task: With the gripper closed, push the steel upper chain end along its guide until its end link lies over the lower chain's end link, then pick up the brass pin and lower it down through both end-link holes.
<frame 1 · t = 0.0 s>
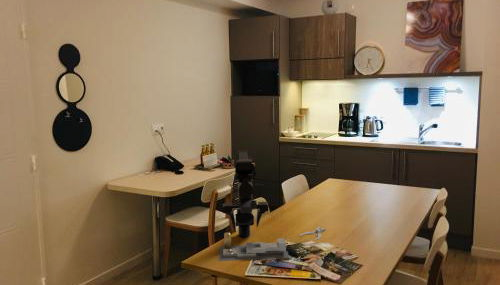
hand: (246, 227, 170), 15 cm above the table, tool pointing down, fingers open, 9 cm apart
gray rectangular board: (246, 255, 178), on the table
brass pin: (228, 248, 184), point 1 cm above the table, touching gray rectangular board
upper chain end: (265, 245, 178), point 4 cm above the table, slide at 4.0 cm
lower chain end: (253, 251, 178), on the gray rectangular board, point 1 cm above the table
pliers: (315, 234, 202), on the table
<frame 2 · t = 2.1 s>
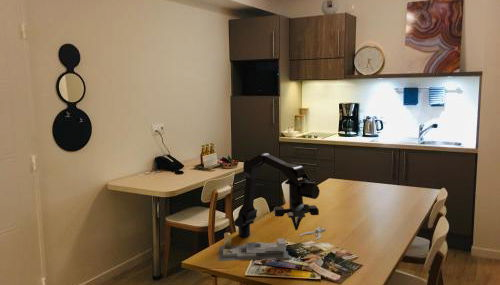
hand: (296, 230, 177), 11 cm above the table, tool pointing down, fingers closed
nothing on the table moved.
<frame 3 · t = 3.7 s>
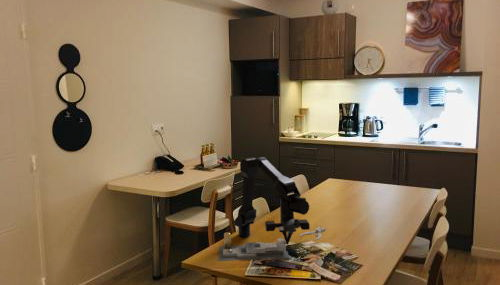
hand: (287, 244, 178), 4 cm above the table, tool pointing down, fingers closed
upper chain end: (265, 245, 177), point 4 cm above the table, slide at 3.9 cm, touching gripper
everything else where it was.
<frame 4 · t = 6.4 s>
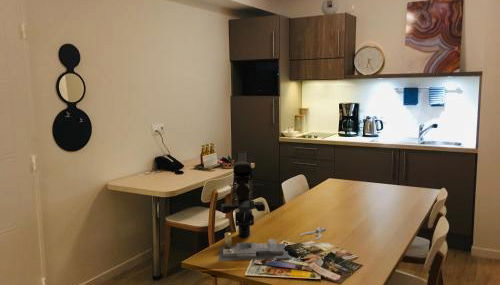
hand: (243, 226, 181), 12 cm above the table, tool pointing down, fingers closed
upper chain end: (256, 245, 177), point 4 cm above the table, slide at 0.0 cm
everything else where it was.
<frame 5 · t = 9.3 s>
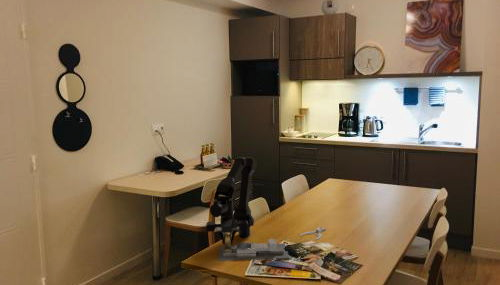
hand: (227, 244, 184), 3 cm above the table, tool pointing down, fingers closed on brass pin, 3 cm apart
brass pin: (228, 248, 184), point 1 cm above the table, touching gripper, gray rectangular board
everything else where it was.
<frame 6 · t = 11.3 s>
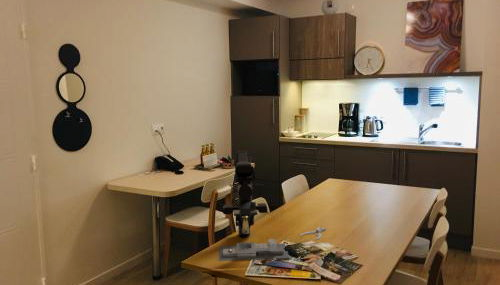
hand: (245, 228, 176), 12 cm above the table, tool pointing down, fingers closed on brass pin, 3 cm apart
brass pin: (245, 232, 176), point 10 cm above the table, touching gripper
everything else where it was.
when the fingers open (5 cm above the table, at t = 13.7 s): brass pin drops 2 cm, resting on gray rectangular board.
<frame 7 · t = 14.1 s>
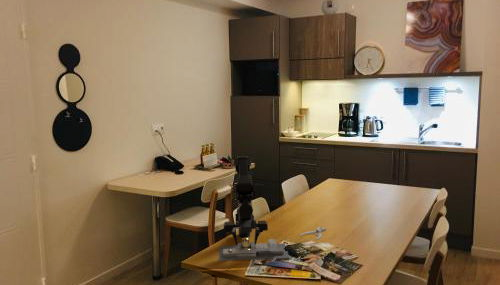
hand: (246, 245, 177), 5 cm above the table, tool pointing down, fingers open, 7 cm apart
brass pin: (246, 253, 178), point 1 cm above the table, touching gray rectangular board
everything else where it was.
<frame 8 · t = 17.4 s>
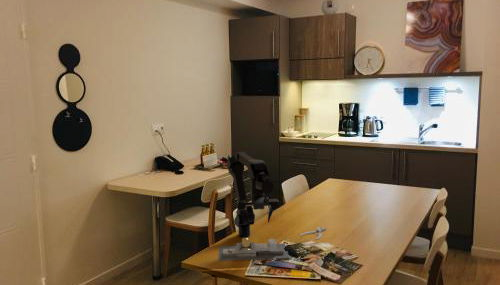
hand: (258, 222, 184), 12 cm above the table, tool pointing down, fingers open, 9 cm apart
nothing on the table moved.
at the end: upper chain end slide at 0.0 cm; brass pin 0.0 cm off-centre on the lower chain end, point 0.9 cm above the lower chain end's base; brass pin tilted 3° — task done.
